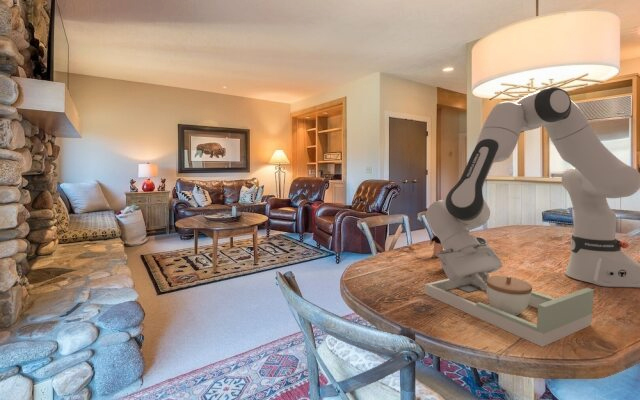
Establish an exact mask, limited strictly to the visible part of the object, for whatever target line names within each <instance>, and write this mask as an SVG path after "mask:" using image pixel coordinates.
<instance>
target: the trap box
mask: <svg viewBox="0 0 640 400" xmlns="http://www.w3.org/2000/svg"><path fill="white" fill-rule="evenodd" d="M482 280H483V279H482ZM453 289H459V290H461V291H464V292H465V293H466V292H467V293H472V292H473V293H474V292H476V291H479V290H482V289H481V288H480V286H479V285H477V284H476V283H475V282H473V281H472V279H471V278H467V279H462V280H458V281H454V282H452V281H451V280H449V279H448V278H444V279H441V280H437V281H432V282H429V283H424V292H423V294H424V295H426V296H429V297H431V298H433V299H435V300H437V301H440V302H441V303H444V304H446V305H448V306H451V307H453V308H455V309H458V310H459V311H462V312H464V313H467V314H469V316H470V315H471V316H472V317H476V318H477V319H479V320H481V321H484V322H487V323H488V324H491V325H493V326H495V327H496V328H499V329H502V330H504V331H506V332H509V333H511V335H512V334H513V335H515V336H517V337H519V338H522V339H523V340H525V341H528V342H530V343H532V344H535V345H537V346H539V347H542V348H543V347H545V346H547V345H550V344H552V343H554V342H556V341H558V340H562V339H564V338H566V337H567V336H568V337H569V336H570V335H572V334H575V333H576V332H579V331H582V330H583V329H585V328H588V327H590V326H592V325H591V324H592V314H593V313H592V314H590V315H588V316H585V317H583V318H580V319H578V320H576V321H573V322H571V323H568V324H566V325H564V326H561V327H559V328H557V329H554V330H552V331H549V332H547V333H545V334H542V333H540V332H538V331H535V330H532V329H530V328H528V327H525V326H523V325H520V324H518V323H516V322H513V321H511V320H508V319H506V318H504V317H501V316H499V315H496V314H494V313H492V312H489V311H487V310H485V309H482V308H480V307H477V302H473V301H471V300H468V299H466V298H464V297H461V296H459V294H458V293H455V292H453V291H451V290H453ZM545 302H547V301H546V300H543V299H540V298H537V297H534V296H531V299H530V303H529V305H528V306H530V307H533V308H536V309H538V305H539V304H542V303H545Z"/></svg>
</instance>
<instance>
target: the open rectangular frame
mask: <svg viewBox="0 0 640 400" xmlns="http://www.w3.org/2000/svg"><path fill="white" fill-rule="evenodd" d="M594 293H595V290H594V289H592V288H590V287H586V288H582V289H579V290H576V291H574V292H571V293H568V294H565V295H562V296H560V297H557V298H555V297H551V296H549V295H546V294H543V293H540V292H537V291H533V290H532V292H531V296H534V297H537V298H540V299H543V300H546V301H547V302H545V303H542V304H539V305H538V308H537V317H536V318H537V320H536V322H537V323H536V324H535V323H533V322H530V321H528V320H527V319H526V320H525V319H524V318H521V317H518V316H517V315H511V314H509V313H506V312H504V311H501V310H499V309H496V308H494V307H493V306H492V305H488V304H486V303H483V302H481V301H478V302H476V304H477V307H480V308H482V309H485V310H487V311H489V312H492V313H494V314H496V315H499V316H501V317H504V318H506V319H508V320H511V321H513V322H516V323H518V324H520V325H523V326H525V327H528V328H530V329H532V330H535V331H538V332H540V333H542V334H545V333H547V332H549V331H552V330H554V329H557V328H559V327H561V326H564V325H566V324H568V323H571V322H573V321H576V320H578V319H580V318H583V317H585V316H588V315H590V314H593V308H594V307H593V306H594V295H595V294H594Z"/></svg>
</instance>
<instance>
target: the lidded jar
mask: <svg viewBox="0 0 640 400" xmlns="http://www.w3.org/2000/svg"><path fill="white" fill-rule="evenodd" d="M532 291H533V285H532V284H531V283H529V282H527V281H526V280H523V279H520V278H516V277H513V276H512V277H511V275H508V276H505V275H495V276H494V275H492V276H489V278H487V279H486V290H485V292H486V298H487V300H488V302H489V304H490V306H491V307H494V308H496V309H499V310H501V311H504V312H506V313H509V314H511V315H514V316H518V315H520V314H521V313H522V312H524V311H526V309H527V308H528V307H529V306H530V305H529V303H530V299H531V292H532Z"/></svg>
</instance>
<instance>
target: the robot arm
mask: <svg viewBox="0 0 640 400" xmlns="http://www.w3.org/2000/svg"><path fill="white" fill-rule="evenodd" d="M541 127H543V128H544V130H545V131H546V133H547V134H548V137H549V139H550V141H551V142H552V144H553V146H554V148H555V149H556V151H557V153H558V154H559V156H560V157H561V159H562V160H563V161H564V162H566V163H568V164H569V165H571V167H569V168H567V169H566V170H565V171H564V172H563V174H562V176H561V185H562V187H563V188H564V189H565V190H566V192H567V193H568V195H569V198H570V202H571V205H572V207H573V233H572V235H571V238H570V251H571V252H570V257H569V262H568V264H567V267H566V269H565V272H564V274H565V275H566V276H567V277H570V278H572V279H574V280H578V281H582V282H586V283H590V284H593V285H597V286H600V287H606V288H607V287H608V288H609V287H612V288H613V287H614V288H640V263H639V262H638V261H636V260H635V259H634V258H633V257H631V256H629V255H628V254H627V253H625V252H624V251H623V250H622V249H628V248H629V247H630V243H628V242H627V241H623V240H622V241H621V240H619V239H617V238H616V234H617V233H616V231H617V219H618V218H617V215H616V213H615V212H614V211H613V210H612V209H611V208H610V205H609V203H608V201H607V199H619V198H620V199H621V198H627V197H631V196H633V195H634V194H636V193H637V192H638V191H639V190H640V172H639V171H638V170H637V168H635V167H633V166H631V165H628V164H626V163H624V162H623V161H622V160H620V159H619V158H618V157H616V155H614V154H613V153H612V151H610V150H609V149H608V148H607V147H606V146H605V145H604V144H603V142H602V141H601V140H600V139H599V137H598V135H597V134H596V132H595V131H594V128H593V127H592V125H591V123H590V122H589V119H588V118H587V117H586V115H585V113H584V112H583V111H582V110H581V109H580V108H579V106H578V105H577V104H576V103H575V102H574V101H573V100H571V96H570V95H569V93H568V91H566V90H565V89H563V88H561V87H560V86H550V87H545V88H542V89H541V90H537V91H535V92H533V93H530V94H527V95H525V96H523V97H522V98H520V99H518V100H516V101H515V102H514V101H507V100H506V101H502V102H498V103H497V104H496V105H494V107H492V109H491V111H490V112H489V114H488V115H487V117H486V119H485V121H484V124H483V125H482V128H481V130H480V134H479V135H478V138H477V142H476V144H475V147H474V149H473V151H472V152H471V154H470V156H469V157H470V158H469V159H468V162H467V164H466V166H465V168H464V170H463V172H462V175H461V177H460V178H459V179H458V181H457V183H456V184H455V185H454V186H453V187H452V188H451V189H450V190H449V192H448V193H447V195H446V198H445V200H443V199H439V200H436V201H434V202H433V203H432V204H430V205H429V207H428V208H427V210H426V212H425V217H426V220H427V224H428V225H429V227H430V229H431V230H432V232H433V233H434V236H437V237H438V238H439V239H440V241H441V245H442V246H443V250H442V251H440V252H439V254H438V256H437V258H438V257H439V258H438V259H439V261H440V265H441V267H442V269H443V271H444V273H445V275H446V277H447V279H449V280H451V281H452V282H454V281H458V280H462V279H467V278H471V279H472V281H473V282H475V283H476V284H477V285H479V286H480V288H481V289H480V290H481V291H486V279H487V278H489V277H490V274H491V273H495V272H498V270H500V269H502V268H503V262H502V261H501V259H500V257H499V256H498V255H497V253H496V252H495V251H494V249H493V248H492V247H491V246H489V245H488V244H489V243H488V240H487V239H486V238H485V237H479V236H476V235H473V234H470V231H471V230H474V229H476V228H477V229H478V228H479V227H481V226H483V225H484V224H486V223H487V221H489V219H490V215H491V211H490V207H489V205H488V204H487V202H486V200H485V199H484V194H483V188H484V185H485V182H486V180H487V179H488V178H487V177H488V176H489V173H490V171H491V169H492V166H493V164H494V163H500V162H503V161H507V159H509V158H510V157H511V155H512V154H513V152H514V151H515V149H516V147H517V144H518V142H519V139H520V136H521V133H524V132H527V131H531V130H535V129H539V128H541ZM468 231H469V232H468ZM482 279H483V280H482Z"/></svg>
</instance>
